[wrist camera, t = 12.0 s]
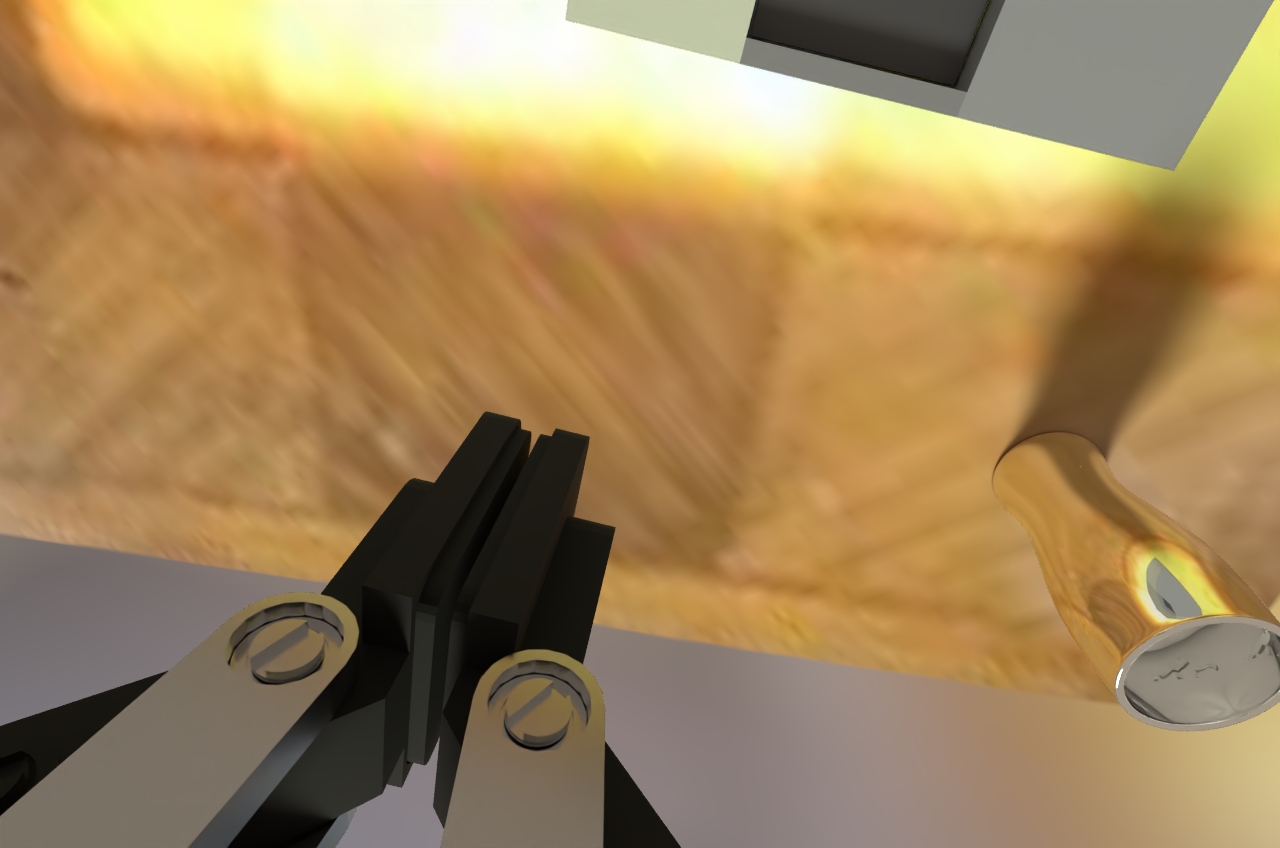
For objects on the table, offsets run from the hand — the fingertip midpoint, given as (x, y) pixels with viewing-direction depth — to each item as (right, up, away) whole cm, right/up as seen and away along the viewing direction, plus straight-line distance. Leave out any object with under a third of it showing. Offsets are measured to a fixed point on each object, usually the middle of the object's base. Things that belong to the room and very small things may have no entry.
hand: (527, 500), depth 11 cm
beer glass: (+26, -2, +29) cm, 39 cm away
